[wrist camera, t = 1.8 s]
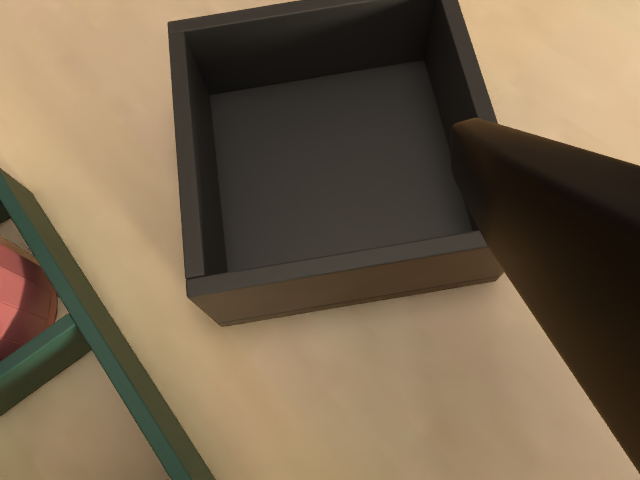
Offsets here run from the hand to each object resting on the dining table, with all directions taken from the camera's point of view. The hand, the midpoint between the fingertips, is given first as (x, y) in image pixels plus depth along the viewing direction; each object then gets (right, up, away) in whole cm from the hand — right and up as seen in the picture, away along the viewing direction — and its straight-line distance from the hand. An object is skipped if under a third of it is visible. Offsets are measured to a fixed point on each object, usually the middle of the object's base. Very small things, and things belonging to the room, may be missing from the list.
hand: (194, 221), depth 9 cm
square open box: (+3, +3, +17) cm, 17 cm away
